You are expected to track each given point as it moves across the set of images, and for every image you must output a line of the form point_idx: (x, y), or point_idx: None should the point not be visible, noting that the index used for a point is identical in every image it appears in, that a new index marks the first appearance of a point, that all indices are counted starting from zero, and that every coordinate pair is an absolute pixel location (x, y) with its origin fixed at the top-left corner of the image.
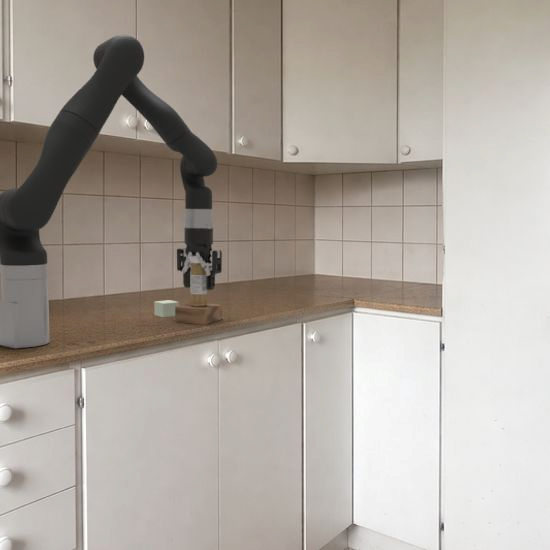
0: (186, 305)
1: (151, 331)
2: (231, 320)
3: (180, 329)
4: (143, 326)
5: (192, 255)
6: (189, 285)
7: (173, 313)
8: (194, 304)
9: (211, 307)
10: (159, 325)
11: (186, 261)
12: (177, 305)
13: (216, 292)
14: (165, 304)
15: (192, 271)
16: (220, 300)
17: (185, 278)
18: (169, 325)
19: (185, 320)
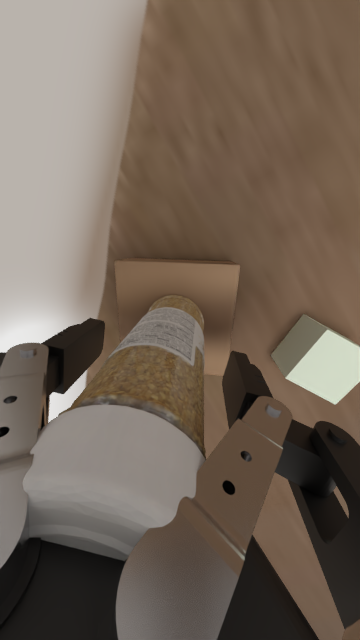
0: (217, 311)
1: (220, 52)
2: (109, 344)
3: (152, 150)
4: (295, 133)
5: (132, 554)
6: (226, 373)
7: (284, 344)
8: (174, 296)
9: (118, 308)
10: (250, 181)
11: (252, 466)
12: (284, 367)
13: (320, 615)
14: (318, 335)
15: (162, 363)
16: (267, 547)
17: (244, 374)
18: (219, 198)
19: (195, 260)
